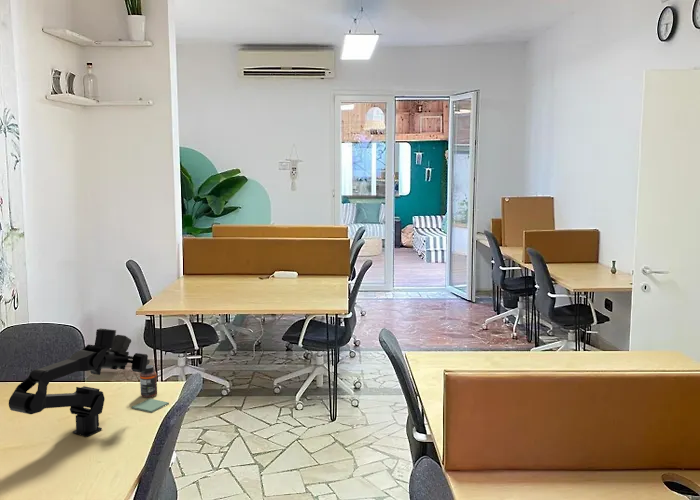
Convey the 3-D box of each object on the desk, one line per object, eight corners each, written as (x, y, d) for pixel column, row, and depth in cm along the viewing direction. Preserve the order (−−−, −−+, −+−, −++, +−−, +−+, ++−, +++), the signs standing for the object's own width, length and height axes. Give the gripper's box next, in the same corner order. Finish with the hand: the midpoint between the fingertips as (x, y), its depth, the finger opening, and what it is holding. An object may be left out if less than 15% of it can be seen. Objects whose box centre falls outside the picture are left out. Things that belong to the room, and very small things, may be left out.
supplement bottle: (151, 391, 244) (150, 362, 243) (160, 395, 241) (159, 366, 239) (137, 395, 240) (136, 366, 238) (146, 399, 236) (145, 370, 234)
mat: (151, 412, 224) (151, 411, 224) (132, 408, 227) (131, 406, 227) (168, 404, 232) (168, 402, 232) (149, 399, 236) (149, 398, 235)
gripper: (134, 339, 212) (163, 340, 226) (90, 332, 219) (121, 334, 233) (129, 373, 211) (158, 372, 225) (85, 365, 217) (116, 365, 232)
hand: (138, 360), depth 229 cm, fingers open, 9 cm apart
